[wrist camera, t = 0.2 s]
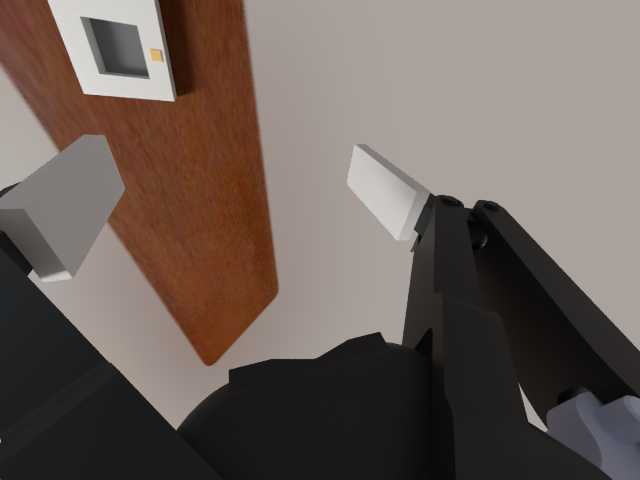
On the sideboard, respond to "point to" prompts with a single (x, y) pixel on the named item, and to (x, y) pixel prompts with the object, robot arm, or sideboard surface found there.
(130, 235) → the sideboard surface
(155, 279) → the sideboard surface
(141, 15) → the panel
